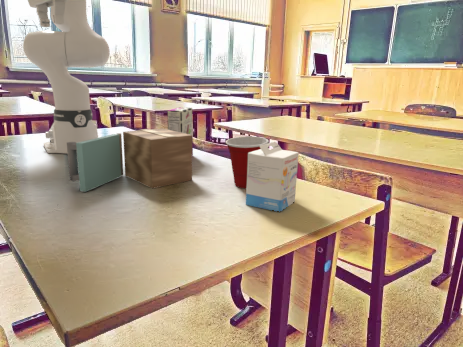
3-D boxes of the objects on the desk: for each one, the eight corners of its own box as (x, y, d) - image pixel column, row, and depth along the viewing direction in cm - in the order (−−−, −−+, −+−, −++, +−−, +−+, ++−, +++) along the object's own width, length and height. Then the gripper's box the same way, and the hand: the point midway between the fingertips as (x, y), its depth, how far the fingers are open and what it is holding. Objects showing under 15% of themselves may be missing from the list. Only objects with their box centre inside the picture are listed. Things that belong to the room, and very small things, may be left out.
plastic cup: (216, 182, 94) (217, 137, 91) (249, 177, 100) (251, 134, 97) (240, 194, 85) (242, 144, 82) (274, 187, 91) (277, 141, 88)
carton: (125, 175, 98) (123, 131, 94) (163, 169, 106) (162, 127, 102) (152, 188, 88) (151, 138, 84) (192, 179, 96) (192, 134, 92)
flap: (105, 172, 99) (103, 131, 96) (124, 174, 97) (122, 133, 94) (64, 188, 84) (59, 141, 81) (85, 191, 83) (81, 143, 80)
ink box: (279, 213, 75) (284, 150, 71) (244, 204, 79) (247, 144, 75) (295, 201, 82) (300, 143, 78) (262, 194, 86) (265, 139, 82)
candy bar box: (179, 154, 125) (179, 106, 120) (193, 155, 124) (193, 107, 120) (167, 161, 114) (166, 109, 110) (182, 163, 113) (182, 110, 109)
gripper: (77, -48, 75) (83, 23, 79) (46, -30, 89) (51, 29, 93) (45, -56, 71) (52, 20, 75) (17, -36, 85) (24, 26, 89)
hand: (51, 25), depth 84 cm, fingers open, 8 cm apart
